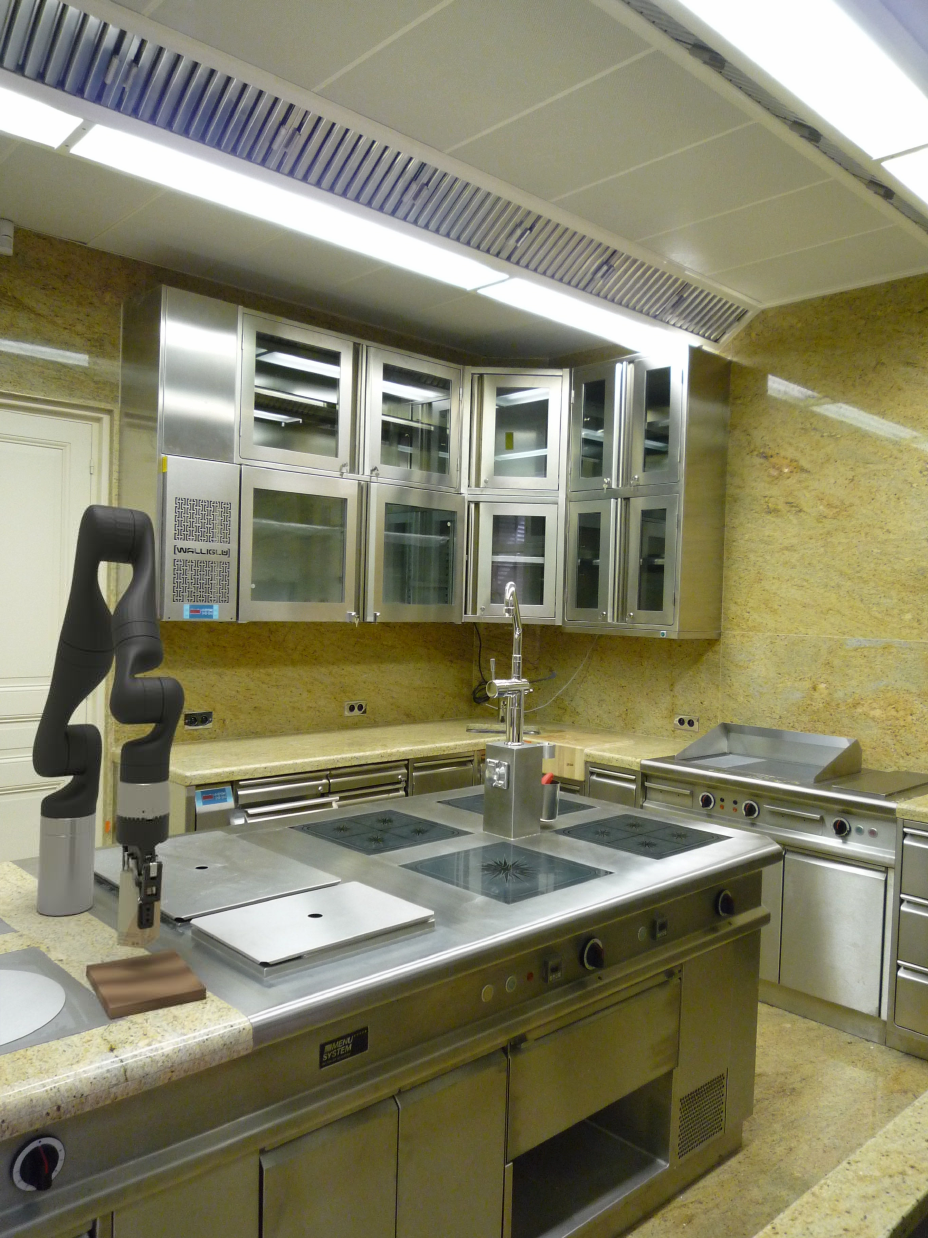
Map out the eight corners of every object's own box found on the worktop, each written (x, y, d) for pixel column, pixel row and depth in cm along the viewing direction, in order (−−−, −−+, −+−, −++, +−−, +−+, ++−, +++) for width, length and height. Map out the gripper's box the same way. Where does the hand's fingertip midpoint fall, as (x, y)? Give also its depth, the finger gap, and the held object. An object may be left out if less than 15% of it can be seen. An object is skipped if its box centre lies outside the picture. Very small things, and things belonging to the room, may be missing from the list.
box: (141, 949, 129) (144, 874, 129) (115, 946, 130) (118, 871, 130) (160, 937, 134) (163, 864, 134) (135, 934, 135) (138, 862, 135)
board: (85, 975, 131) (86, 965, 131) (173, 959, 139) (174, 950, 139) (110, 1019, 118) (110, 1008, 118) (205, 998, 125) (206, 988, 125)
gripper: (106, 802, 136) (102, 910, 136) (129, 822, 124) (124, 941, 124) (156, 798, 140) (152, 902, 140) (182, 817, 128) (178, 932, 128)
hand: (139, 920), depth 132 cm, fingers closed on box, 6 cm apart
